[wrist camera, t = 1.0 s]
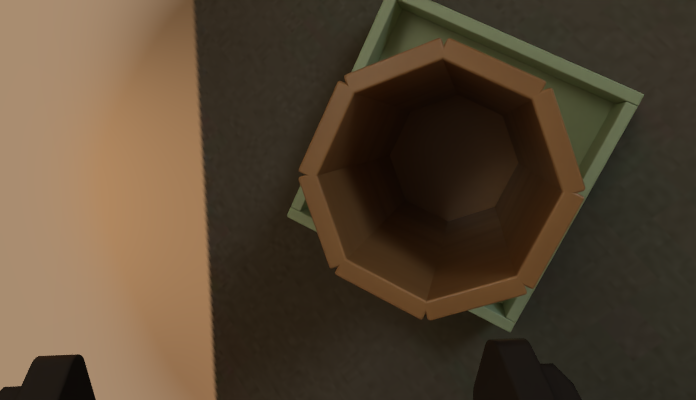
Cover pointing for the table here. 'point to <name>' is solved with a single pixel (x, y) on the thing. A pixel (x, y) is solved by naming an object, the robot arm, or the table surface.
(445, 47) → the wooden octagonal cup
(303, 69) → the table surface
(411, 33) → the tray
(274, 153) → the table surface
